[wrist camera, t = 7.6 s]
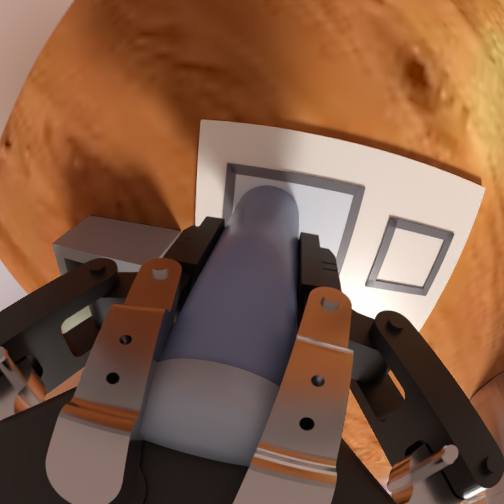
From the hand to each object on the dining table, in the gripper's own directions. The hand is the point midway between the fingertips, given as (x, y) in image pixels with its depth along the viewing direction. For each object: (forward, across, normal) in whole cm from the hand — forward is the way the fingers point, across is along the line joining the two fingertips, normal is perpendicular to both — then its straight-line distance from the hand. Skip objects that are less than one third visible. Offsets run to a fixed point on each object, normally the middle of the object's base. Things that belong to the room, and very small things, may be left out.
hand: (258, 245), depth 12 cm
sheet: (+4, -4, +1) cm, 6 cm away
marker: (+3, 0, 0) cm, 3 cm away
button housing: (+4, +8, +6) cm, 11 cm away
